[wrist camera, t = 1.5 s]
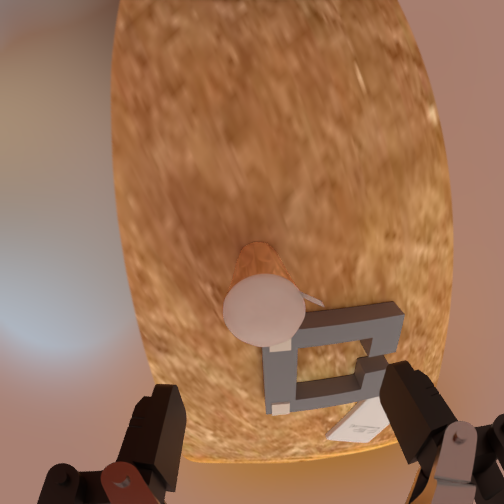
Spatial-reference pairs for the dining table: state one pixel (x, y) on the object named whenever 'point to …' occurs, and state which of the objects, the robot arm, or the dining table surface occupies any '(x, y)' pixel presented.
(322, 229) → the dining table surface
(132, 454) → the robot arm
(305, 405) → the frame
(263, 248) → the milkshake
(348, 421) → the external hard drive
